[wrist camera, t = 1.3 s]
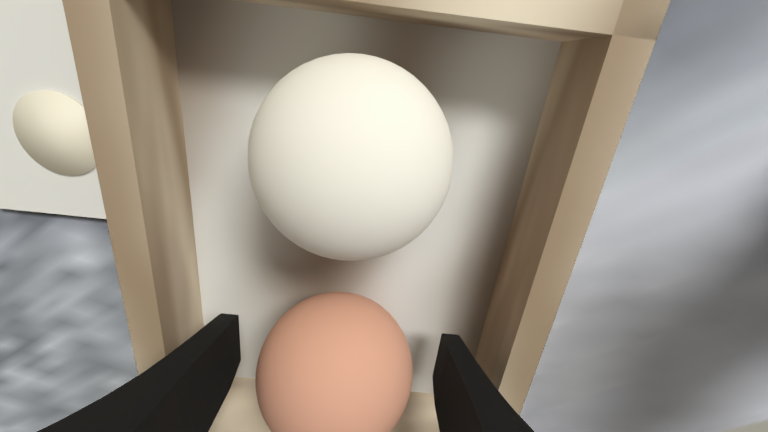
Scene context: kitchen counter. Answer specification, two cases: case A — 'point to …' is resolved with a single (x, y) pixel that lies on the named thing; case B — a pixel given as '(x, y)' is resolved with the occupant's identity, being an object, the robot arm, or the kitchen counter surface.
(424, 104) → the cream ball
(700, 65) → the kitchen counter surface
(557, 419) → the kitchen counter surface
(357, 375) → the terracotta ball
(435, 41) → the two-well rack
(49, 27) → the card
